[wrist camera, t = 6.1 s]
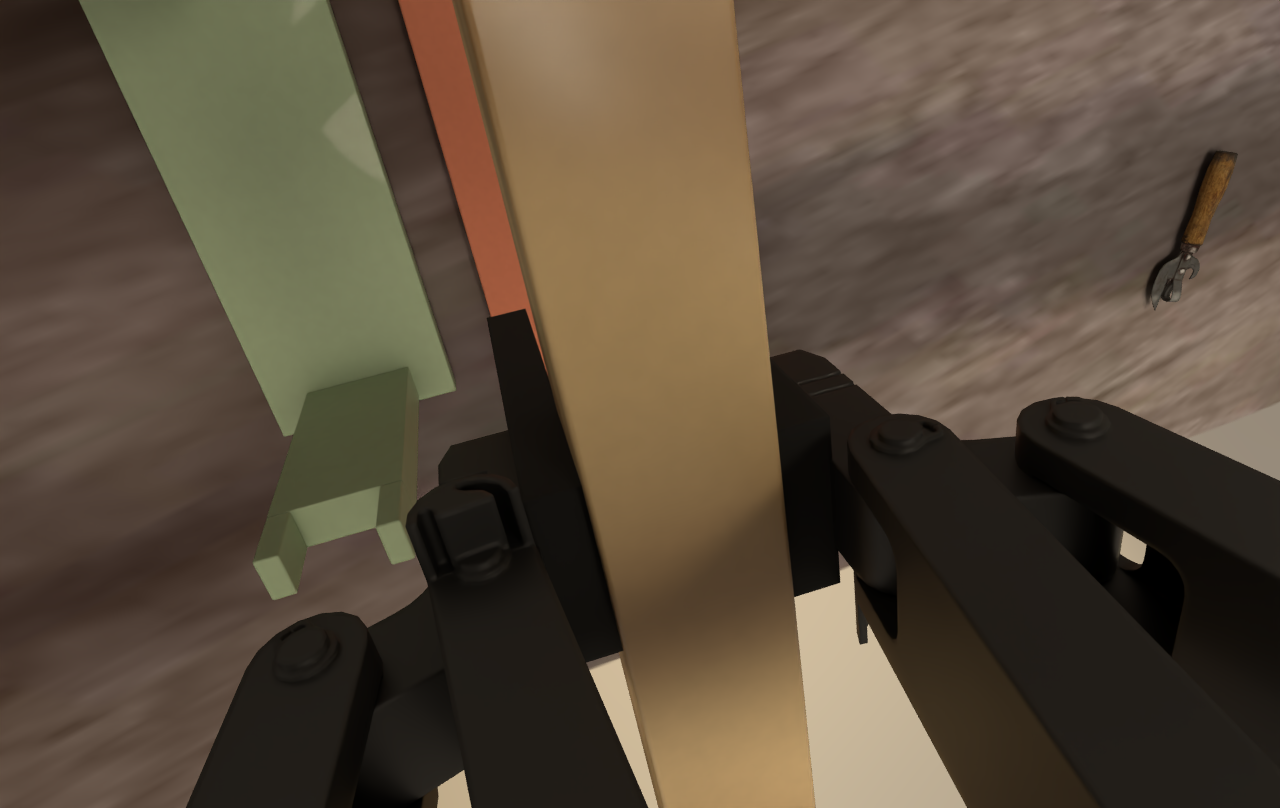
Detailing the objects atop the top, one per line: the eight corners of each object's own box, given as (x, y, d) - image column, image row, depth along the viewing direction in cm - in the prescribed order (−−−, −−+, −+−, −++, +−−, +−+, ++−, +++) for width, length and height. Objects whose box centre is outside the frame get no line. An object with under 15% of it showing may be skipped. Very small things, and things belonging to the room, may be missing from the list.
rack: (43, -98, 26) (-269, -195, 14) (282, -140, 27) (172, -261, 15) (287, 427, 36) (220, 622, 24) (455, 382, 37) (468, 548, 25)
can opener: (1210, 148, 42) (1230, 151, 41) (1242, 154, 42) (1261, 158, 41) (1137, 306, 45) (1153, 313, 44) (1167, 310, 46) (1183, 317, 45)
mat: (359, -135, 28) (357, -138, 27) (650, -186, 29) (654, -190, 29) (524, 429, 39) (525, 434, 39) (727, 372, 41) (731, 377, 40)
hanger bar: (299, -596, 6) (236, -896, 4) (578, -620, 7) (644, -911, 5) (681, 899, 17) (717, 1023, 15) (785, 861, 17) (834, 979, 15)
